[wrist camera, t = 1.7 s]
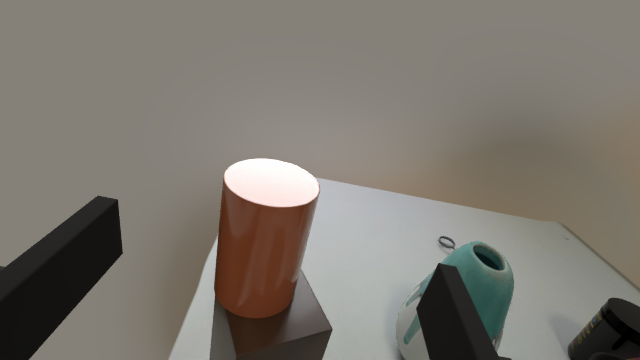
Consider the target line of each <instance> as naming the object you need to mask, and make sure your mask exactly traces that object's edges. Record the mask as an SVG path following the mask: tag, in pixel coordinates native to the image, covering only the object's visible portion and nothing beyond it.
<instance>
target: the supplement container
mask: <svg viewBox="0 0 640 360" xmlns="http://www.w3.org/2000/svg"><path fill="white" fill-rule="evenodd" d="M597 352H605V353H610V354H614V355H617V356H619V357H622V358H624V359H626V360H640V307H639V306H637V305H635V304H633V303H631V302H628V301H626V300H623V299H619V298H610V299H609V300H608V301H607V302H606V303H605V304H604V305H603V306H602V307H601V309H600V310H599V311H598V313H597V314H596V315H595V316H594V317H593V318H592V319H591V320H590V322H589V323H588V324H587V325H586V326H585V327H584V328H583V329H582V331H581V332H580V333H579V334H578V335H577V336H576V337H575V339H574V340H573V341H572V342H571V343H570V344H569V346H568V354H569V357H570V359H571V360H589V359H590V357H591V356H592V355H593V354H595V353H597Z"/></svg>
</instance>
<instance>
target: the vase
mask: <svg viewBox="0 0 640 360" xmlns="http://www.w3.org/2000/svg"><path fill="white" fill-rule="evenodd" d="M441 264H446V265H451V266H456V267H457V269H458V271H459V273H460V275H461V278H462V280H463V282H464V284H465V286H466V288H467V290H468V292H469V295H470V297H471V299H472V301H473V303H474V305H475V307H476V310H477V312H478V314H479V316H480V318H481V320H482V322H483V324H484V327H485V329H486V331H487V333H488V335H489V337H490V339H491V341H492V344H493V346H494V348H495V350H496V352H497V351H498V348H499V346H500V342H501V339H502V334H503V328H504V324H505V319H506V316H507V313H508V309H509V306H510V303H511V300H512V295H513V290H514V278H513V273H512V270H511V267H510V265H509V264H508V262H507V260H506V259H505V257H504V256H503V255H502V254H501V253H500V252H499V251H497V250H496V249H495V248H493V247H492V246H490V245H487V244H485V243H482V242H478V241H475V242H470V243H468V244H465V245H463V246H461V247H459V248H457V249H456V250H454V251H453V252H452V253H450V254H449V255H448V256H447V257H446V258H445V259H444V260H443V261H442V262H441ZM434 271H435V270H434ZM434 271H433V272H432V273H431V274H430V275H429V276H427V277H426V278H425V279H424V280H423V281H422V282H421V283H420V284H419V285H418V286H417V287H416V288H415V289H414V290H413V291H412V292H411V294H410V295H409V296H408V297H407V299H406V300H405V302H404V303H403V305H402V306H401V309H400V311H399V313H398V317H397V321H396V339H397V343H398V347H399V350H400V352H401V354H402V356H403V358H404V360H430V359H429V356H428V352H427V348H426V344H425V341H424V337H423V333H422V329H421V326H420V322H419V318H418V314H417V311H416V307H417V305H418V303H419V301H420V299H421V297H422V295H423V293H424V291H425V289H426V287H427V285H428V283H429V281H430V279H431V277H432V275H433V273H434Z"/></svg>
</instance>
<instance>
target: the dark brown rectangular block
mask: <svg viewBox="0 0 640 360" xmlns="http://www.w3.org/2000/svg"><path fill="white" fill-rule="evenodd" d="M331 332H332V327H331V325H330V323H329V321H328V320H327V318H326V316H325V314H324V312H323V310H322V308H321V306H320V304H319V302H318V300H317V299H316V297H315V295H314V293H313V291H312V289H311V287H310V285H309V283H308V281H307V280H306V278H305V276H304V274H303V272H302V270H300V274H299V278H298V282H297V286H296V290H295V294H294V297H293V299H292V301H291V303H290V304H289V305H288V306H287V307H286V308H285V309H284V310H283V311H281V312H280V313H278V314H276V315H273V316H270V317H266V318H259V319H252V318H245V317H241V316H238V315H235V314H233V313H231V312H230V311H228V310H227V309H225V308H224V307H223V306H222V305H221V303H220V302H219V301H218V299H217V297H216V295H215V304H214V315H213V327H212V338H211V349H210V360H322V358H323V355H324V353H325V350H326V347H327V344H328V341H329V338H330V335H331Z"/></svg>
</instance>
